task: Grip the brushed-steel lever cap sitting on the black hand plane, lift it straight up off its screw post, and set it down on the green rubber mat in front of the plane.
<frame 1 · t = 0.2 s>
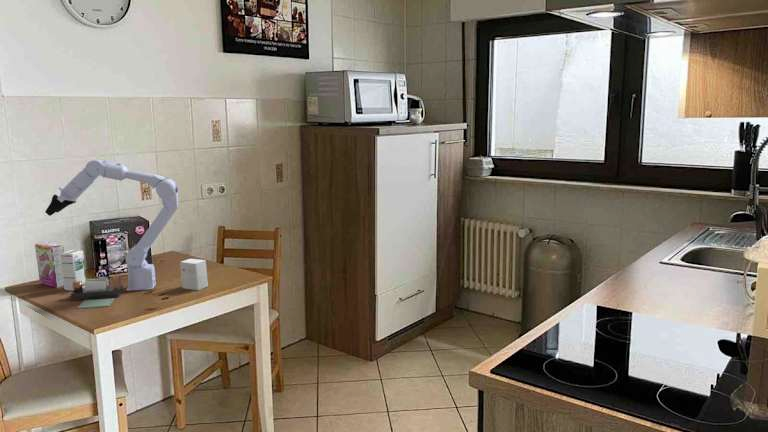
hand: (51, 212, 212), 31 cm above the table, tool tilted 45°, fingers open, 7 cm apart
lever cap: (97, 289, 213), point 2 cm above the table, touching plane body
plane body: (98, 295, 214), on the table
rubber mat: (96, 304, 205), on the table
small box: (195, 288, 222), on the table
candy bar box: (53, 285, 228), on the table
syrup box: (75, 288, 223), on the table
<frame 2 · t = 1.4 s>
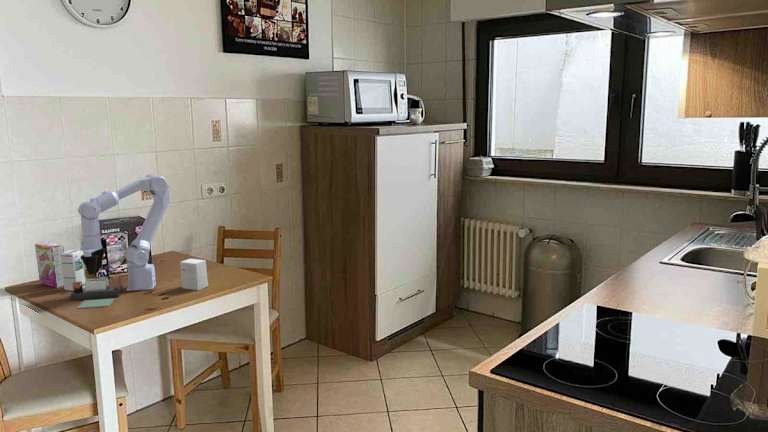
hand: (95, 271, 212), 9 cm above the table, tool pointing down, fingers open, 7 cm apart
nothing on the table moved.
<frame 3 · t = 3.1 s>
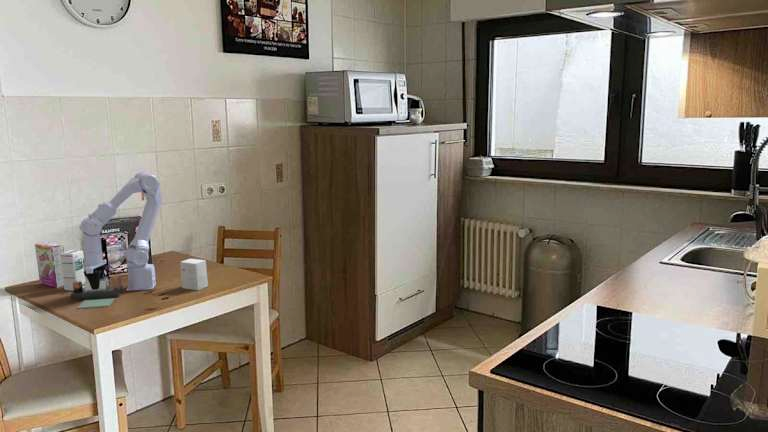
hand: (97, 287, 213), 3 cm above the table, tool pointing down, fingers closed on lever cap, 4 cm apart
lever cap: (97, 289, 213), point 2 cm above the table, touching gripper, plane body
everything else where it was.
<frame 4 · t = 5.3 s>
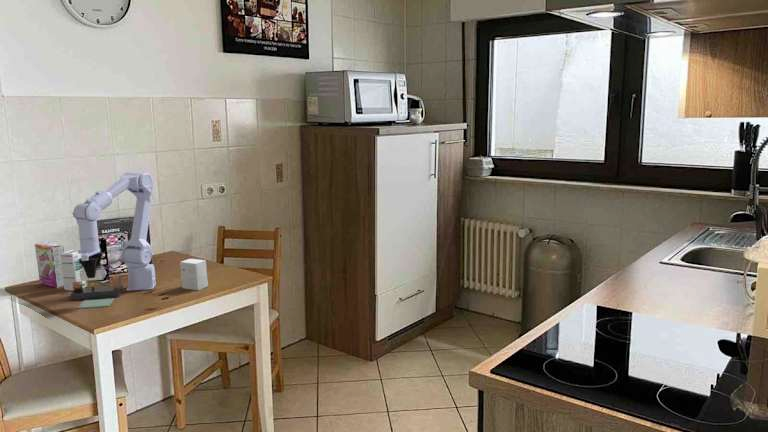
hand: (93, 275, 203), 10 cm above the table, tool pointing down, fingers closed on lever cap, 4 cm apart
lever cap: (93, 278, 203), point 9 cm above the table, touching gripper
everything else where it was.
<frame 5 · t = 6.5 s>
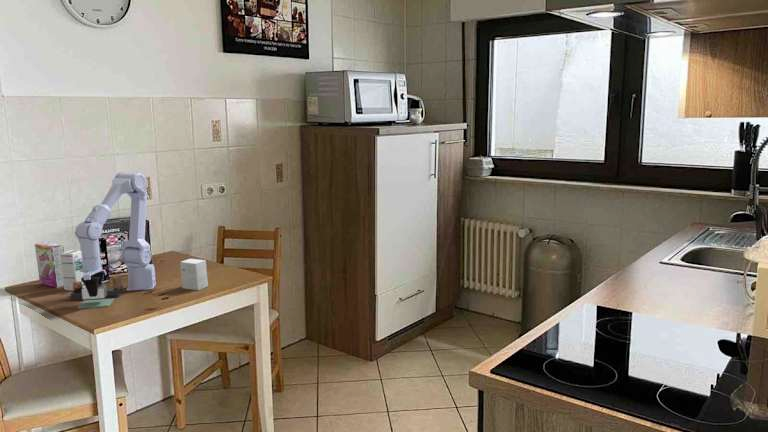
hand: (95, 294, 204), 4 cm above the table, tool pointing down, fingers closed on lever cap, 4 cm apart
lever cap: (95, 297, 204), point 3 cm above the table, touching gripper
everything else where it was.
when the fingers open (3 cm above the table, at t = 7.6 s): lever cap drops 1 cm, resting on rubber mat.
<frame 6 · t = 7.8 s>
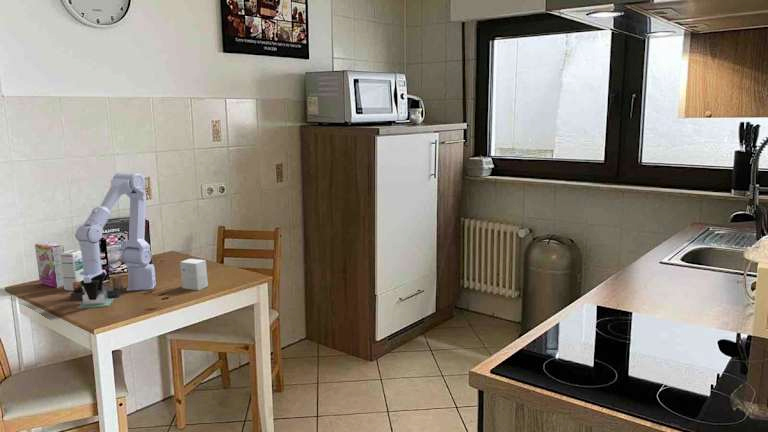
hand: (95, 296, 204), 3 cm above the table, tool pointing down, fingers open, 6 cm apart
lever cap: (95, 302, 204), resting on rubber mat
everything else where it was.
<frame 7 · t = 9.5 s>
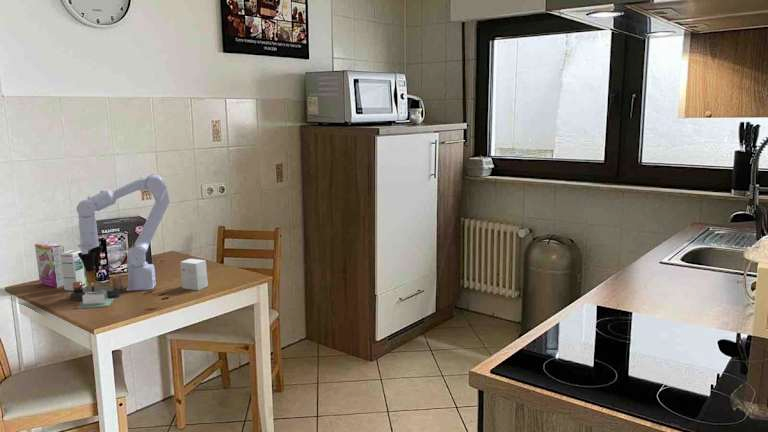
hand: (92, 268, 216), 9 cm above the table, tool pointing down, fingers open, 7 cm apart
nothing on the table moved.
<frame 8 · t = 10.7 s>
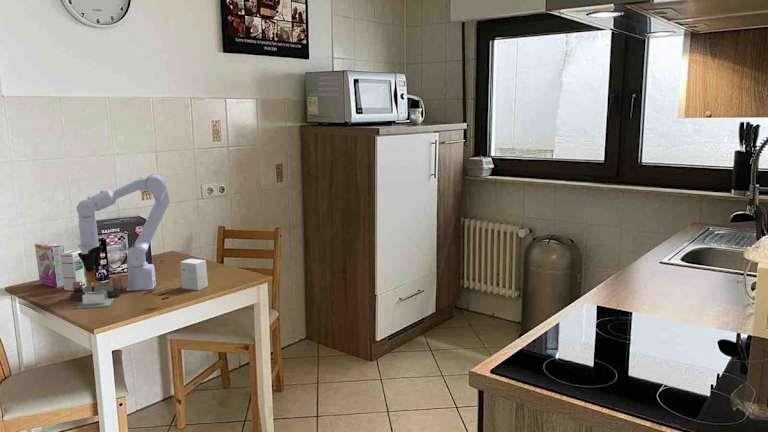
hand: (92, 268, 216), 9 cm above the table, tool pointing down, fingers open, 7 cm apart
nothing on the table moved.
at the end: lever cap 0.1 cm off-centre on the rubber mat, point 0.4 cm above the rubber mat's base; lever cap tilted 0°; the gripper is holding nothing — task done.
